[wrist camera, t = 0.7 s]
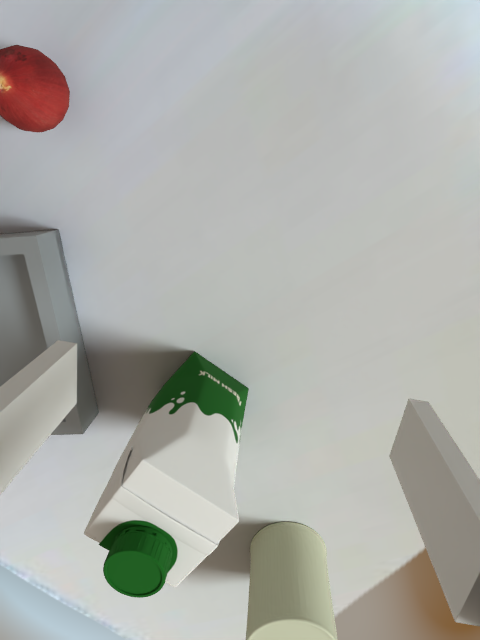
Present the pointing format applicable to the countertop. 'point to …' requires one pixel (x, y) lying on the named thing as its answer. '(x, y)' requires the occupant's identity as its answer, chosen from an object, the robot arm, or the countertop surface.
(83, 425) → the tray
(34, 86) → the onion
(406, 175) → the countertop surface
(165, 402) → the milk carton
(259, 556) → the can
